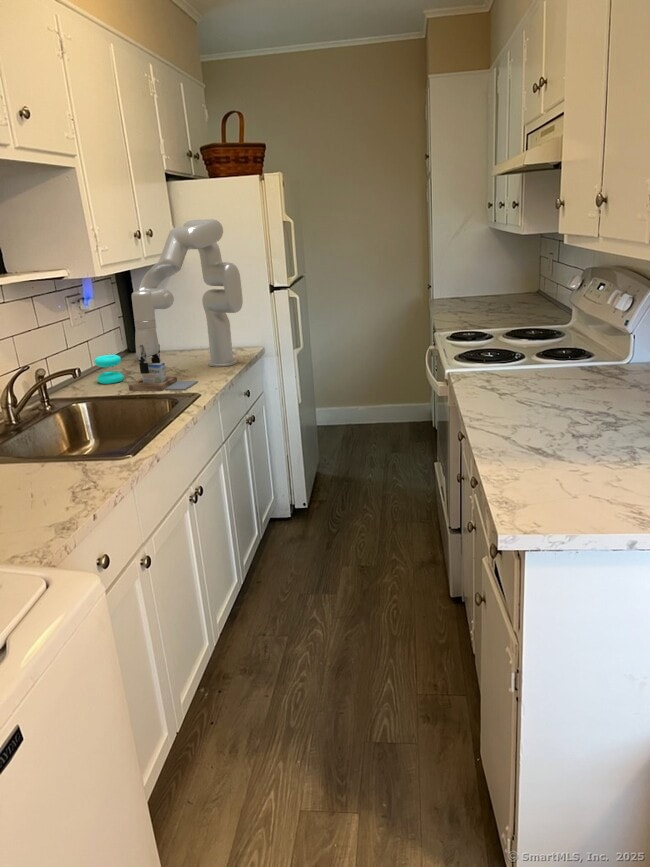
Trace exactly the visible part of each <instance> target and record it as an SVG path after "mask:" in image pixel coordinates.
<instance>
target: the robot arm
mask: <svg viewBox="0 0 650 867" xmlns="http://www.w3.org/2000/svg"><path fill="white" fill-rule="evenodd" d="M223 234H224V228H223V224H222V223H221V222H220V221H219V220H217V219H213V218H210V219H207V218H206V219H192V220H188V221H186V222H185V223H184V224H183V226H177V227H176V226H175V227H174V228H172V229H171V230H169V233H168V234H167V238H166V240H165V243H164V246H163V249H162V252H161V253H160V254H161V255H160V257H159V259H158V261H157V262H156V263H155V264H154V265H152V266H151V268H150V269H149V270H148V271H147V272H146V273H145V274H144V276H143V277H142V279H141V282H140V284H139V287H138V290H137V291H134V292H132V293H131V302H132V312H133V319H134V320H133V321H134V327H135V333H134V334H135V335H134V336H135V339H134V340H135V342H134V344H135V356H136V358H137V362H138V364H139V371H140V374H141V375H142V374H148V373H149V368H148V363H149V362H148V360H149V357H151V358H150V361H151V363H161V359H160V357H161V355H160V354H161V350H160V349H161V345H160V344H159V339H158V334H157V323H156V322H157V321H156V314H155V310H167V309H169V308H170V307H172V305H173V304H174V301H175V297H174V294H173V293H172V292H171V291H170V290H169V289H166V288H158V286H159V285H160V284H161V283H163V281H165V280H166V279H167V278H170V277H172V276H174V275H175V274H177V273H179V272H181V269H182V267H183V264H184V262H185V259H186V255H187V253H188V251H190V250H198V254H199V258H200V265H201V273H202V279H203V282H204V283H205V284H206V285H207V286H210V287H223V288H221V289H220V288H211V289H208V290H206V291H205V292H204V293H203V295H202V298H201V299H202V300H201V302H202V306H203V310H204V313H205V318H206V326H207V334H208V337H207V338H208V346H209V355H210V360H208V361H207V366H209V367H217V368H218V367H228V366H230V367H231V366H234V365H236V364H237V363H238V360H237V359H236V358H234V350H233V345H232V344H233V343H232V342H233V341H232V333H231V322H230V318H229V316H228V315H227V314H236V313H238V312H240V311H241V309H242V307H243V302H244V301H243V298H244V297H243V292H242V291H243V290H242V280H241V274H240V270H239V268H238V267H237V265H235V264H234V263H232V262H228V261H225V262H223V260H222V255H221V249H220V246H219V244H218V242H219V241H221V239H222V238H223Z"/></svg>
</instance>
